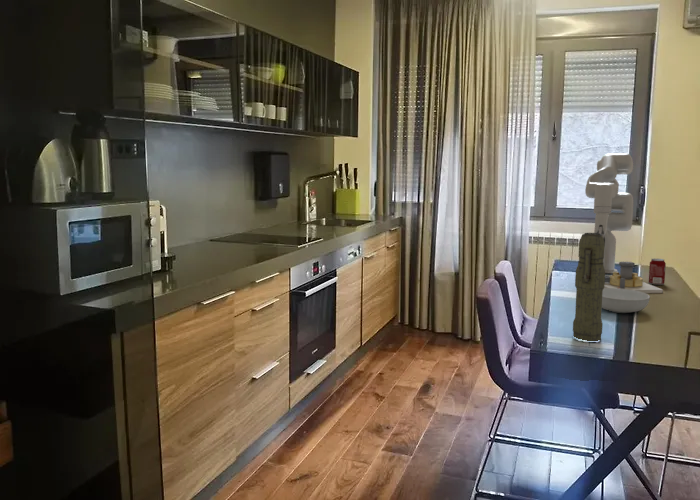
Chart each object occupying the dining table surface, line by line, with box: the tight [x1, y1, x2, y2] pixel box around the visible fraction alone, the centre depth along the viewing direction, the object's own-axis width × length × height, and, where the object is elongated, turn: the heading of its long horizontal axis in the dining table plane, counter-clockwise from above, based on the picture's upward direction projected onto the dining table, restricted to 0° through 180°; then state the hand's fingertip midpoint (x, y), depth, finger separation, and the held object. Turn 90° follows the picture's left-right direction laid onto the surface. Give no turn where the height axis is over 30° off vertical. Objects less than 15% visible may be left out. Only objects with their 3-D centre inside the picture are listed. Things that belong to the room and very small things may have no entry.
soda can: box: [648, 258, 667, 286], centre depth 279 cm, size 7×7×12 cm
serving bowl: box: [602, 288, 651, 314], centre depth 231 cm, size 21×21×7 cm
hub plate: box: [604, 261, 664, 294], centre depth 272 cm, size 24×22×12 cm
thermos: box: [572, 232, 606, 341], centre depth 191 cm, size 9×12×35 cm
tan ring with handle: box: [605, 271, 644, 287], centre depth 274 cm, size 24×14×4 cm, turn 70°
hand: (600, 247), depth 279 cm, fingers open, 6 cm apart
